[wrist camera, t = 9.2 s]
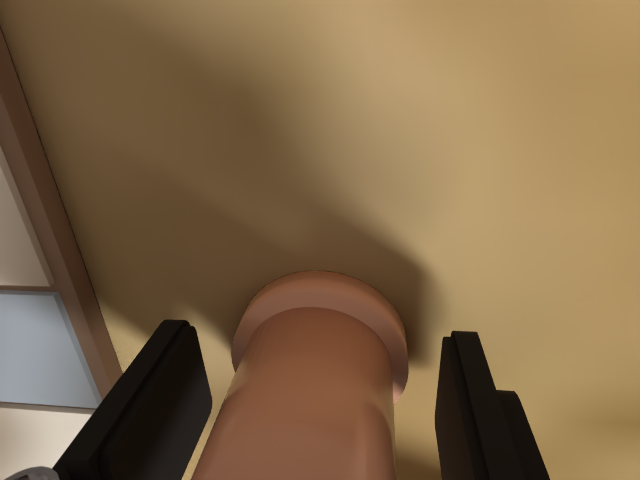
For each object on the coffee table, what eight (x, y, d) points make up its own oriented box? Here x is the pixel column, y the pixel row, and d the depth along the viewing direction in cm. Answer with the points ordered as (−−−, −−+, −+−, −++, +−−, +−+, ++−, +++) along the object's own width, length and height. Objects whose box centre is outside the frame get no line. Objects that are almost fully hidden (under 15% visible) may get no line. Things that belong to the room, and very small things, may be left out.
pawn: (253, 395, 13) (104, 826, 6) (231, 268, 11) (-36, 701, 4) (403, 405, 12) (434, 900, 5) (409, 272, 10) (475, 796, 3)
